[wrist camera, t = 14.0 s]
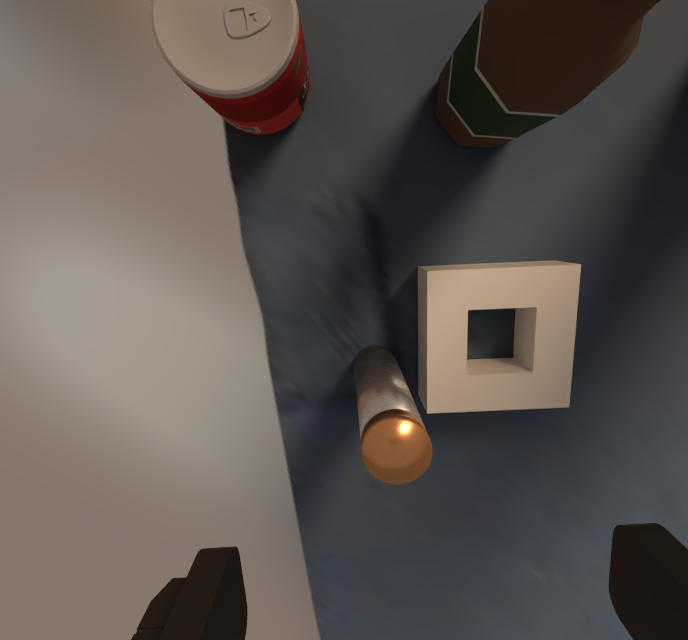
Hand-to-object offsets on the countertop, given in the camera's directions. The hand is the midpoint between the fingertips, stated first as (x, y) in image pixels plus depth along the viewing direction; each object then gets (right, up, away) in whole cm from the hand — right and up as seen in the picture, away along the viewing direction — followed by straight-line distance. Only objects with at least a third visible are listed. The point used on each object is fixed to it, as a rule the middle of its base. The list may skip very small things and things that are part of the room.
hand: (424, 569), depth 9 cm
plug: (+1, +1, +29) cm, 29 cm away
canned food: (-8, +24, +24) cm, 35 cm away
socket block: (+11, +4, +29) cm, 31 cm away
